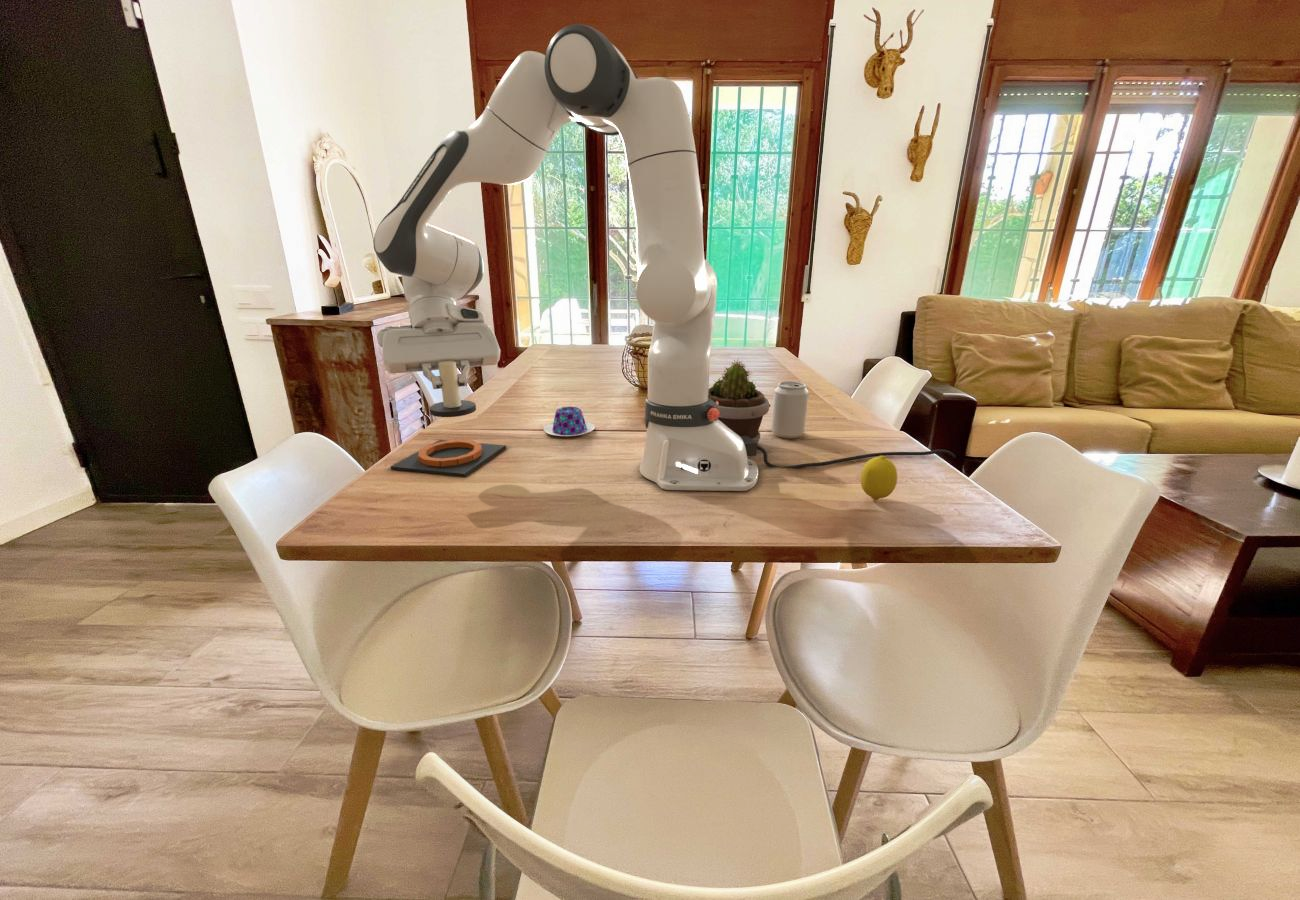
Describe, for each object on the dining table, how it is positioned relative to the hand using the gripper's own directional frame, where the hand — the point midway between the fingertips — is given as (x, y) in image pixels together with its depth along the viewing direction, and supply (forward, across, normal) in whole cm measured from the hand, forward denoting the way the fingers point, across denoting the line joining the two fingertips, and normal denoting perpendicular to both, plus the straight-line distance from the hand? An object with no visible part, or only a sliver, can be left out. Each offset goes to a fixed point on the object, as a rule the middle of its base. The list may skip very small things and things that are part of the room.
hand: (450, 385), depth 93 cm
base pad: (+6, -1, +17) cm, 18 cm away
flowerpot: (+21, +54, +2) cm, 58 cm away
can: (+21, +70, +2) cm, 73 cm away
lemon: (+44, +60, -21) cm, 77 cm away
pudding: (+2, +26, +21) cm, 34 cm away
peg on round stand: (+3, 0, +4) cm, 5 cm away
